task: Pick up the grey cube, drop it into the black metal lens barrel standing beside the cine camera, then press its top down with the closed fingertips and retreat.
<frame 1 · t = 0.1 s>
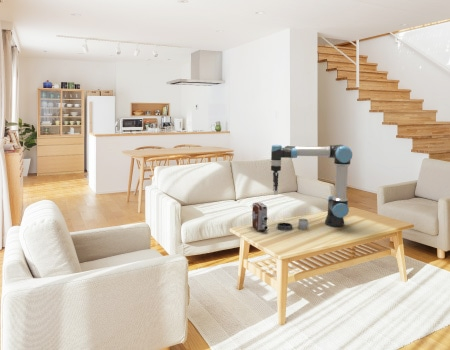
hand: (275, 192, 302), 28 cm above the table, fingers open, 13 cm apart
grey cube: (302, 228, 305), on the table
cine camera: (260, 230, 301), on the table
lens barrel: (284, 228, 305), on the table
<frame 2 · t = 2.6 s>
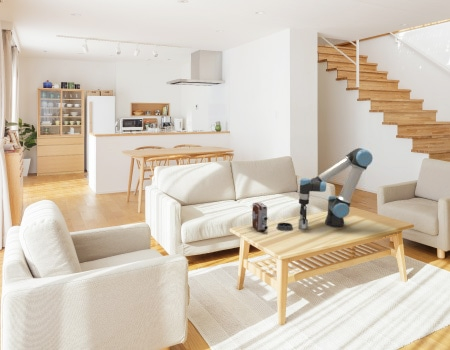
hand: (302, 225, 305), 3 cm above the table, fingers open, 13 cm apart
nothing on the table moved.
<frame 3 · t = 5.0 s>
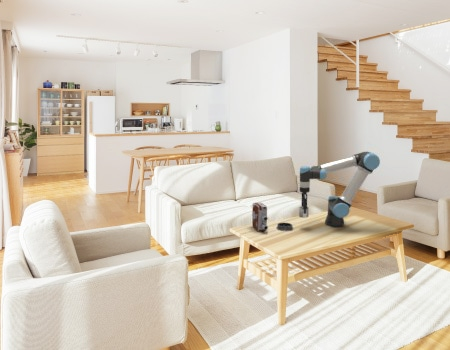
hand: (304, 215, 303), 10 cm above the table, fingers closed on grey cube, 7 cm apart
grey cube: (303, 216, 303), point 10 cm above the table, touching gripper
everything else where it was.
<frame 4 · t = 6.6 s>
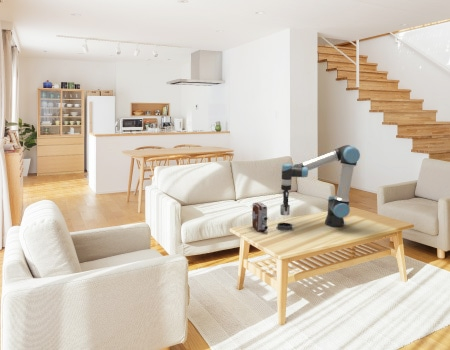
hand: (285, 213, 303), 12 cm above the table, fingers closed on grey cube, 7 cm apart
grey cube: (284, 214, 303), point 11 cm above the table, touching gripper
everything else where it was.
when the fingers open (5 cm above the table, at t = 8.5 s): grey cube drops 4 cm, resting on lens barrel.
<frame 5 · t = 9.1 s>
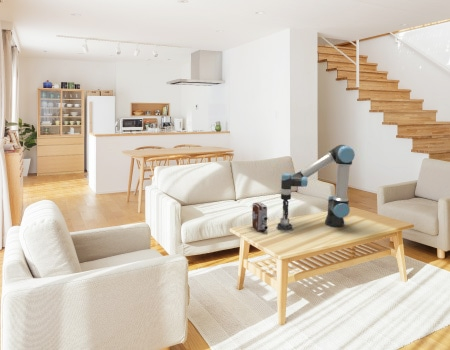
hand: (285, 220, 304), 6 cm above the table, fingers open, 13 cm apart
grey cube: (284, 227, 305), point 1 cm above the table, touching lens barrel
everything else where it was.
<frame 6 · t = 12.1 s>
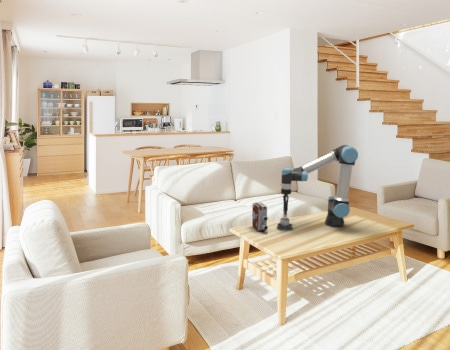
hand: (285, 218, 304), 8 cm above the table, fingers closed
grey cube: (284, 227, 305), point 1 cm above the table, touching gripper, lens barrel
everything else where it was.
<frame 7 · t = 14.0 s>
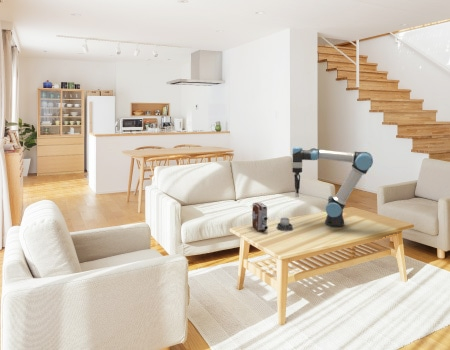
hand: (297, 196, 310), 23 cm above the table, fingers closed
grey cube: (284, 227, 305), point 1 cm above the table, touching lens barrel
everything else where it was.
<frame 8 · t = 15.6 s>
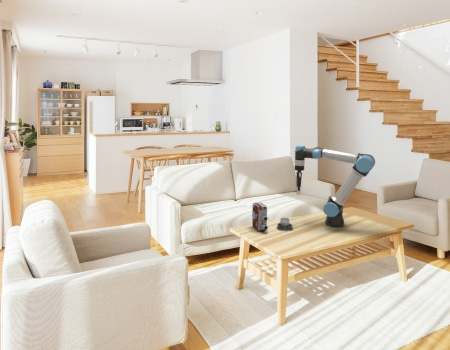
hand: (298, 194, 313), 24 cm above the table, fingers closed
nothing on the table moved.
at the end: grey cube 0.2 cm from the lens barrel (horizontally); grey cube point 0.6 cm above the table; grey cube tilted 0° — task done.
